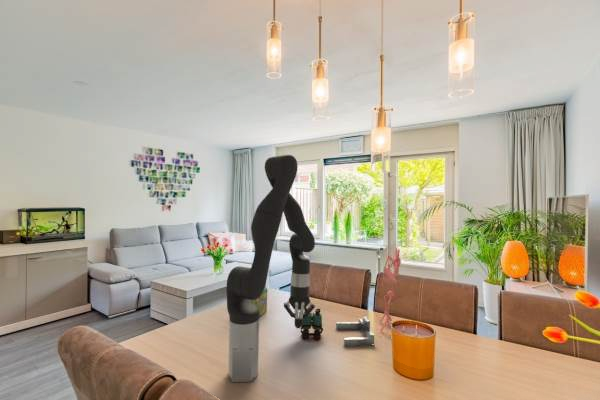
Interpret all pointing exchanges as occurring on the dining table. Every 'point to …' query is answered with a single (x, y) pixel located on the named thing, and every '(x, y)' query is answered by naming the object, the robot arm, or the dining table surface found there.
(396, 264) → the figurine
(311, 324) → the binoculars
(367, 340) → the bracket
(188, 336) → the dining table surface
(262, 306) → the chalk box
